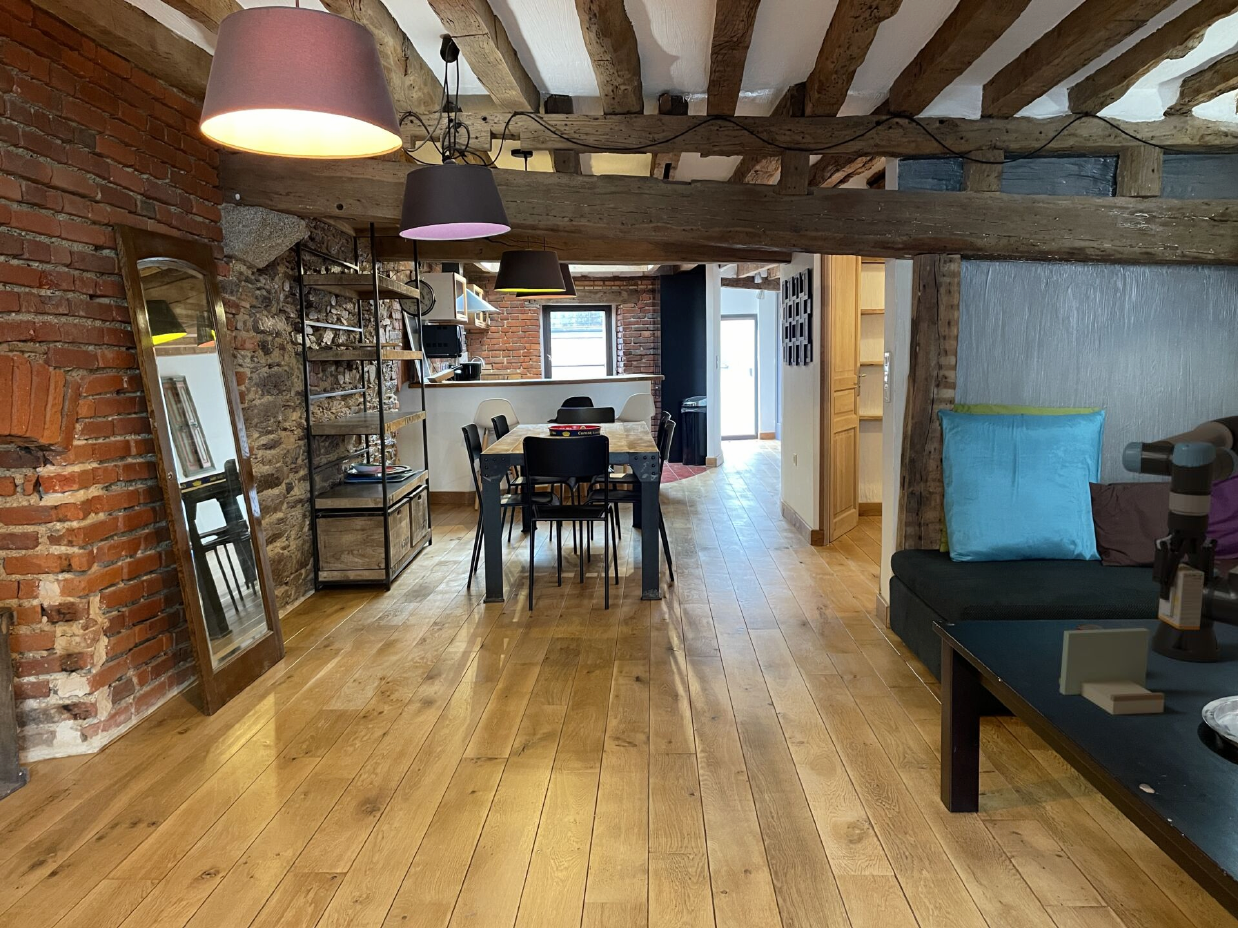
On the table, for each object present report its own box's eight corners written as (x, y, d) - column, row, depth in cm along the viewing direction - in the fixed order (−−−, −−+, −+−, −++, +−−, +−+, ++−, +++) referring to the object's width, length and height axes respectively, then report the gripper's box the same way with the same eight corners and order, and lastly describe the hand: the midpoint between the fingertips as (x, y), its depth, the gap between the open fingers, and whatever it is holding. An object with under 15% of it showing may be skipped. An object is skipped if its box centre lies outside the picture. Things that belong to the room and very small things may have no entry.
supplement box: (1200, 630, 182) (1206, 572, 180) (1177, 629, 183) (1182, 572, 181) (1179, 618, 190) (1183, 562, 188) (1157, 617, 191) (1161, 562, 189)
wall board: (1124, 680, 202) (1129, 621, 200) (1179, 711, 185) (1185, 647, 183) (1046, 683, 201) (1051, 623, 199) (1095, 715, 183) (1100, 650, 181)
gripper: (1213, 507, 187) (1204, 606, 191) (1137, 509, 186) (1129, 609, 189) (1241, 514, 180) (1231, 616, 183) (1162, 516, 178) (1153, 619, 181)
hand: (1179, 612), depth 186 cm, fingers closed on supplement box, 5 cm apart
